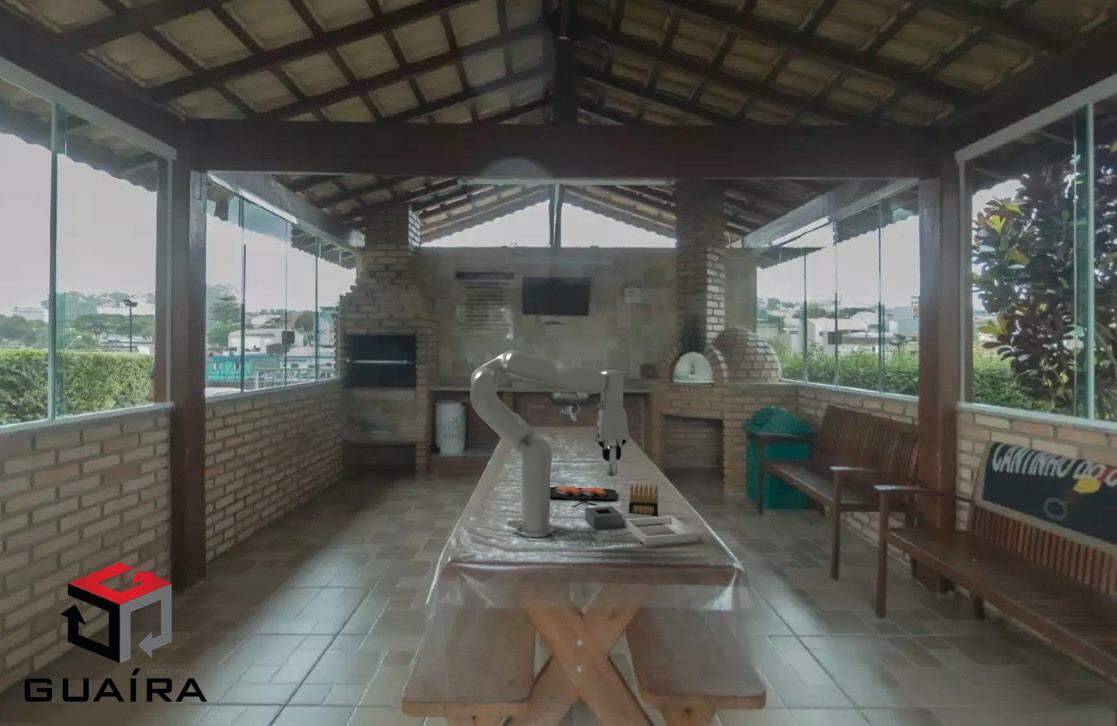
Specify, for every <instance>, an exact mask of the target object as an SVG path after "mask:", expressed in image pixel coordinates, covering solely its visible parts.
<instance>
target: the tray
mask: <svg viewBox="0 0 1117 726" xmlns="http://www.w3.org/2000/svg"><path fill="white" fill-rule="evenodd" d="M657 524H658V525H660V524H663V525H664V526H666V527H667V528H668V529H670V530H671V531H673V533H672V534H671V533H670V534H659V535H650V536H648V535H646V534H645V533H644V532H642V531H641V530H640V529H639V528H638V527H637V526H645V525H646V526H647V525H657ZM623 527H625V528H626V529H627V530H628V531H629V532H631V533H632V534H633V536H635V537H636V538H638V540H640V541H641V542H640V541H639V543H640V544H641V546H643V547H645V548H650V547H661V546H673V545H682V544H683V543H685V544H693V543H698V532H697V531H695V530H693V529H692V528H691V527H689V526H688V525H686V524H685V523H684V522H682V521H680V520H679V519H678V518H676V517H674V516H673V515H666V516H663V515H662V516H658V517H653V516H652V517H651V516H650V517H639V518H625V519H623ZM683 545H684V544H683Z"/></svg>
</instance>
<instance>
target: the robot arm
mask: <svg viewBox="0 0 1117 726" xmlns="http://www.w3.org/2000/svg"><path fill="white" fill-rule="evenodd" d="M512 377H514V378H518V379H521V380H522V379H524V380H527V381H533V382H535V383H540V384H544V385H550V386H553V387H559V388H560V387H561V388H566V389H569V390H573V391H578V392H583V393H587V394H592V395H594V394H595V395H597V394H600V401H599V402H598V403H597V404H596V407H597V408H600V409H599V410H598V414H597V420H596V428H595V429H596V432H595V434H594V436H593V438H592V442H594V443H596V444H598V445H599V446H600V448H602V449H601V452H602V455H601V456H602V458H603V460H604V461H605V462H606V461H608V460H609V450H608V449H607V445H609V441H615V445H617V461H620V460H621V457H622V449H623V446H625V445H626V443H627V442H628V441H630V440H631V438H632V437H631V435H630V434H629V428H628V418H627V412H626V409H624V374H623V372H622V371H621V369H604V370H598V369H589V368H584V367H580V366H577V365H571V364H569V363H566V362H563V361H559V360H557V359H554V358H550V357H549V358H548V357H544V356H541V355H536V354H532V353H527V352H524V351H523V352H522V351H518V350H514V349H511V350H507V351H505V352H504V353H502V354H500V355H498V356H497V357H495V358H493V359H492V360H490V361H487V362H486V363H484V364H483V365H480V366H479V367H478V368H476V369H475V370H473V372H472V373H471V377H470V384H471V386H470V392H469V393H470V394H469V396H470V402H471V406H472V407H473V410H474V412H475V413H476V414H477V415H478V417H479V418H481V419H482V420H483V421H484V422H485V423H486V424H487V425H488V426H489V427H490V428H491V430H493V431H494V432H495V433H496V435H497V434H498V436H499V437H500V439H501V440H503V441H504V442H505V443H507V444H508V445H509V446H511V448H512V449H513V450H515V451H516V452H517V453H518V454H519V455H520V456H521V459H522V465H521V504H520V505H521V509H520V510H521V513H520V514H521V515H520V516H519V517H518V518H516V520H513V519H512V520H507V521H506V527H507V528H508V527H512V528H511V529H516V533H517V534H519V535H520V536H523V537H527V538H543V537H544V538H545V537H547V536H551V535H552V533H553V532H554V531H555V526H554V525H553V524H551V523H550V521H551V497H550V487H551V467H552V460H553V455H552V454H553V453H552V448H551V446H550V444H549V443H548V441H547V440H546V439H545V438H544V437H543V436H541V434H539V433H538V432H537V431H536V430H535V429H534V428H533V427H531V425H530V424H529V423H527V422H526V421H525V420H524V419H523V418H522V417H521V415H519V413H516V412H513V410H511V409H510V408H509V407H508V406H507V405H506V404H505V403H504V402H503V401H502V400H501V399H500V398H499V396H498V394H497V390H498V386H499V385H500V384H502V383H504V382H506V381H507V380H509V379H511V378H512ZM599 439H600V440H599Z"/></svg>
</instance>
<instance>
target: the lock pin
mask: <svg viewBox="0 0 1117 726" xmlns="http://www.w3.org/2000/svg"><path fill="white" fill-rule="evenodd" d="M607 449H608V450H609V460H608V461H606V460H605V462H606V463H605V464H606V468H605V469H606V470H605V471H606V473H605V475H606V476H608V477H616V476H617V475H618V460H617V445H616V444H608V445H607Z"/></svg>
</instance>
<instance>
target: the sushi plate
mask: <svg viewBox="0 0 1117 726" xmlns="http://www.w3.org/2000/svg"><path fill="white" fill-rule="evenodd" d="M550 498H552V499H553V498H555V499H567V500H571V501H575V502H579V503H578V504H574V505H572V506H571V508H575V507H578V506H581V505H582V504H587V505H591V506H598V504H597V503H592V502H590V501H592V499H593V500H596V501H597V500H598V501H608V500H609V501H611V500H613V501H614V500H616V498H617V491H616V490H615V489H613V488H600V487H598V486H596V487H575V486H567V487H566V486H550ZM583 500H585V501H583Z"/></svg>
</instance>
